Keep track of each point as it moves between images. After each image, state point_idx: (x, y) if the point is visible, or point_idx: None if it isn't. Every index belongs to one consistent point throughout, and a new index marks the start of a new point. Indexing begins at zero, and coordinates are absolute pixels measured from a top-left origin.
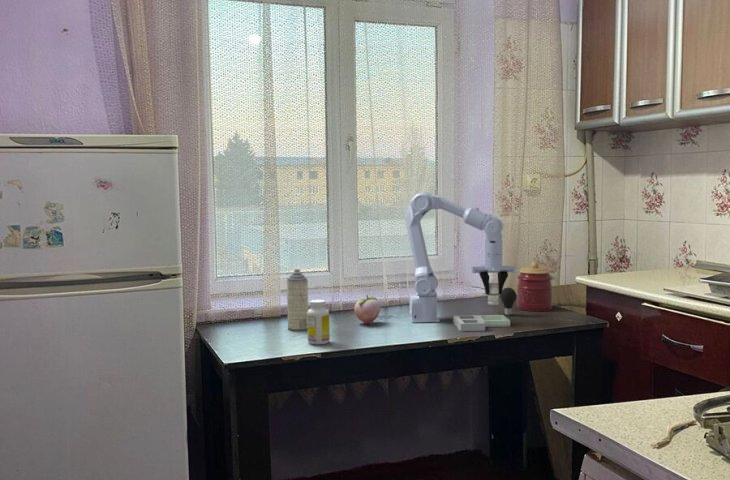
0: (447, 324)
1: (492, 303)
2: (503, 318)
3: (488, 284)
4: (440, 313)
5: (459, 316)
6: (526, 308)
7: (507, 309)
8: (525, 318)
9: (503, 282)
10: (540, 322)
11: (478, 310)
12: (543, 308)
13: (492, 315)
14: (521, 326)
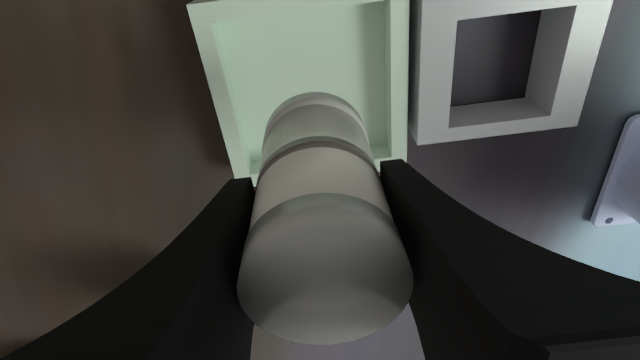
0: (604, 60)
1: (330, 100)
2: (238, 124)
3: (428, 223)
4: None
5: (538, 115)
6: None
7: None
8: (118, 222)
9: (151, 274)
10: (8, 132)
11: (344, 344)
12: None
13: None
14: (115, 6)
